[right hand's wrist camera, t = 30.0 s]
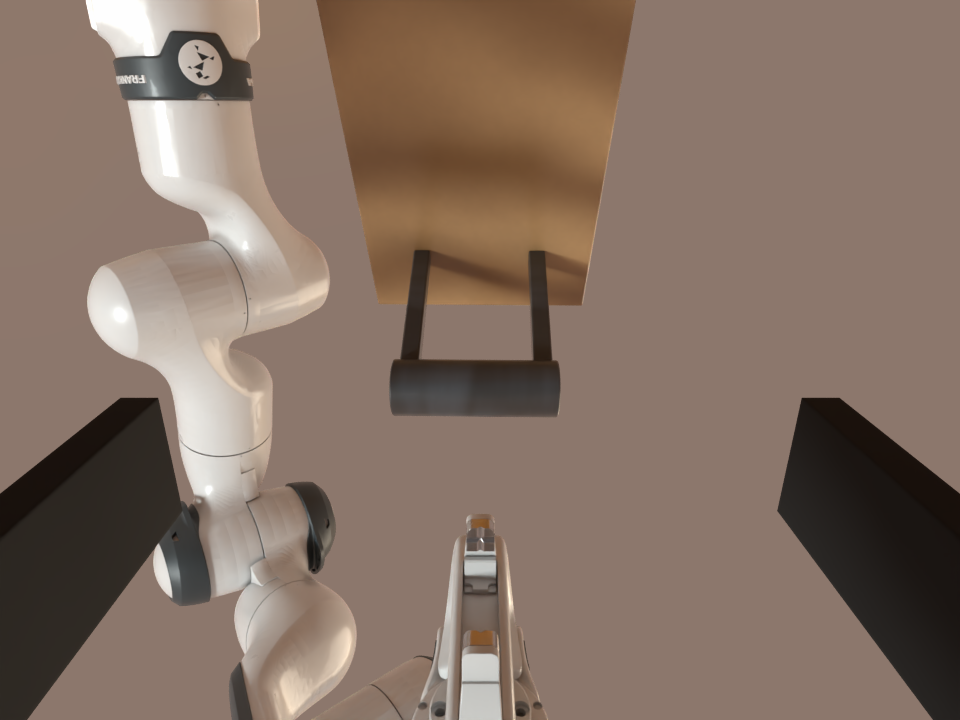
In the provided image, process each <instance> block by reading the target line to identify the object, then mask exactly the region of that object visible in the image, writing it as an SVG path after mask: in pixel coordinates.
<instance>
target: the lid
mask: <svg viewBox="0 0 960 720" xmlns="http://www.w3.org/2000/svg"><path fill="white" fill-rule="evenodd" d="M316 1H317V6H318V11H319V16H320V20H321V25H322V30H323V35H324V40H325V45H326V49H327V54H328V59H329V64H330V69H331V74H332V79H333V83H334V88H335V93H336V98H337V103H338V108H339V113H340V118H341V123H342V127H343V132H344V137H345V142H346V147H347V152H348V157H349V162H350V166H351V171H352V176H353V181H354V186H355V191H356V196H357V201H358V205H359V210H360V215H361V220H362V225H363V230H364V235H365V239H366V244H367V249H368V254H369V259H370V264H371V269H372V274H373V278H374V283H375V288H376V293H377V298H378V303H379V304H407V309H406V317H405V325H404V333H403V341H402V349H401V357H400V359H395V360H393V363H392V366H391V371H390V385H389V396H390V407H391V411H392V414H393V415H394V416H479V417H557V416H558V414H559V408H560V369H559V363H558V361H556V360H552V349H551V333H550V318H549V305H582V304H583V298H584V293H585V287H586V281H587V276H588V270H589V264H590V258H591V253H592V247H593V241H594V236H595V230H596V224H597V219H598V213H599V207H600V202H601V196H602V190H603V184H604V179H605V173H606V167H607V161H608V156H609V150H610V144H611V139H612V133H613V127H614V122H615V116H616V110H617V104H618V99H619V93H620V87H621V82H622V76H623V70H624V65H625V59H626V53H627V48H628V42H629V36H630V30H631V25H632V19H633V13H634V8H635V2H636V0H316ZM427 304H440V305H442V304H443V305H444V304H445V305H530V323H531V348H532V360H440V359H421V356H422V346H423V336H424V326H425V316H426V306H427Z"/></svg>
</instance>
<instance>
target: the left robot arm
mask: <svg viewBox="0 0 960 720" xmlns="http://www.w3.org/2000/svg"><path fill="white" fill-rule="evenodd" d="M86 3H87V8H88V13H89V17H90V22H91V26H92V28H93V29H94V30H96V31H98V34H99V35H100V36H101V37H102V38H104V39H105V40H106V41H107V42H108V43H109V44H110V46H111V48H112V50H113V52H114V54H115V56H116V59H115V60H114V61H113V63H114V67H115V71H116V75H117V77H116V80H117V84H118V85H119V87H120V91H121V94H122V98H123V99H125V100H142V101H128V105H129V110H130V115H131V120H132V125H133V131H134V136H135V141H136V146H137V151H138V156H139V161H140V166H141V171H142V174H143V176H144V178H145V180H146V181H147V183H148V184H149V186H150V187H151V188H152V189H153V190H154V191H155V192H156V193H157V194H159V195H160V196H162V197H163V198H165V199H167V200H169V201H171V202H173V203H176V204H178V205H180V206H183V207H186V208H188V209H191V210H194V211H197V212H199V213H200V215H201V216H202V218H203V219H204V221H205V223H206V226H207V229H208V232H209V240H207V241H205V242H197V243H191V244H185V245H177V246H171V247H164V248H157V249H151V250H146V251H142V252H140V253H137V254H134V255H131V256H128V257H125V258H122V259H119V260H117V261H114V262H112V263H109V264H106V265H104V266H101V267H100V268H99V269H98V271H97V272H96V274H95V275H94V277H93V279H92V281H91V284H90V287H89V291H88V298H87V306H88V312H89V316H90V320H91V322H92V324H93V326H94V328H95V330H96V332H97V333H98V334H99V336H100V337H101V338H102V340H103V341H104V342H105V343H106V344H107V345H109V346H110V347H111V348H112V349H114V350H115V351H117V352H118V353H120V354H122V355H124V356H126V357H128V358H132V359H135V360H139V361H142V362H144V363H147V364H149V365H151V366H152V367H154V368H155V369H157V370H158V371H159V372H160V373H161V374H162V375H163V376H164V377H165V378H166V380H167V381H168V383H169V385H170V387H171V390H172V394H173V399H174V404H175V410H176V418H177V426H178V437H179V445H180V451H181V456H182V460H183V464H184V467H185V470H186V473H187V476H188V479H189V482H190V484H191V487H192V490H193V493H194V501H193V504H191V505H190V506H189V507H187V505H186V504H185V502H183V501H181V506H182V510H183V511H182V512H181V514H180V515H179V516H178V518H177V519H176V520H175V522H174V523H173V524H172V526H171V527H170V528H169V530H168V531H167V532H166V534H165V535H164V537H163V538H162V539H161V541H160V542H159V543H158V545H157V546H156V548H155V552H154V561H153V564H154V572H155V576H156V579H157V581H158V583H159V585H160V586H161V588H162V589H163V590H164V592H165V593H166V594H167V595H168V596H169V598H170V599H171V601H172V602H174V603H176V604H178V605H179V606H188V605H195V604H200V603H205V602H209V600H210V598H212V597H217V596H221V595H225V594H228V593H232V592H235V591H238V590H241V589H244V588H245V590H244V591H243V592H242V594H241V595H240V597H239V599H238V602H237V605H236V609H235V616H234V620H235V628H236V633H237V636H238V640H239V643H240V645H241V648H242V650H243V652H244V654H245V656H244V658H243V659H242V661H241V662H239V664H238V665H237V666H236V668H235V669H234V671H233V672H232V673H231V677H230V683H229V698H230V708H231V716H232V720H295V719H296V718H297V717H298V716H299V715H301V714H302V713H303V712H304V711H306V710H307V709H308V708H309V707H311V706H312V705H313V704H315V703H316V702H317V701H319V700H320V699H321V698H323V697H324V696H325V695H327V694H328V693H329V692H330V691H332V690H333V689H334V688H335V687H336V686H337V685H338V684H339V682H340V681H341V680H342V678H343V677H344V675H345V674H346V672H347V670H348V668H349V666H350V664H351V662H352V659H353V656H354V652H355V647H356V636H357V635H356V625H355V620H354V617H353V615H352V613H351V611H350V609H349V607H348V606H347V604H346V603H345V602H344V600H343V599H342V598H341V597H340V596H339V595H338V594H336V593H335V592H334V591H333V590H331V589H330V588H328V587H326V586H325V585H323V584H321V583H320V582H318V581H316V580H314V579H313V578H312V577H311V575H310V573H309V570H310V571H311V572H312V573H313V574H317V573H318V572H319V571H320V570H321V569H322V568H323V565H324V558H325V557H326V555H327V554H328V553H329V551H330V549H331V546H332V544H333V541H334V537H335V532H336V524H335V517H334V512H333V508H332V506H331V504H330V501H329V499H328V497H327V495H326V494H325V492H324V491H323V490H322V489H321V488H320V487H319V486H317V485H316V484H314V483H313V482H295V483H288V484H286V486H285V487H280V488H274V489H269V490H265V491H260V492H259V491H258V488H259V486H260V485H261V483H262V481H263V479H264V475H265V472H266V469H267V464H268V460H269V454H270V448H271V439H272V389H273V388H272V387H273V382H272V379H271V376H270V374H269V372H268V370H267V368H266V367H265V366H264V364H263V363H262V362H261V361H259V360H258V359H257V358H255V357H253V356H251V355H249V354H247V353H244V352H242V351H239V350H235V349H231V348H229V346H230V344H231V342H232V341H233V340H235V339H238V338H239V337H242V336H245V335H249V334H253V333H257V332H260V331H264V330H268V329H272V328H275V327H279V326H283V325H287V324H290V323H292V322H294V321H296V320H298V319H300V318H302V317H304V316H306V315H307V314H309V313H311V312H313V311H315V310H316V309H318V308H320V307H321V306H322V305H323V303H324V302H325V300H326V297H327V294H328V291H329V285H330V275H329V269H328V265H327V262H326V260H325V258H324V256H323V254H322V252H321V251H320V249H319V248H318V247H317V246H316V244H315V243H314V242H312V241H311V240H310V239H309V238H308V237H306V236H305V235H303V234H301V233H300V232H298V231H297V230H296V229H294V228H293V227H292V226H291V225H290V224H289V223H288V222H287V221H286V220H285V218H284V217H283V216H282V215H281V213H280V212H279V210H278V209H277V207H276V206H275V204H274V202H273V200H272V198H271V196H270V194H269V192H268V190H267V187H266V185H265V182H264V179H263V176H262V172H261V168H260V163H259V158H258V153H257V147H256V141H255V135H254V129H253V123H252V116H251V109H250V102H249V101H251V100H252V99H253V79H252V77H251V69H250V64H249V63H248V62H246V57H247V54H248V51H249V49H250V48H251V47H252V45H253V44H255V43H256V41H257V40H258V39H259V37H260V24H259V7H258V0H86ZM312 720H548V718H547V715H546V712H545V710H544V708H543V706H542V704H541V703H540V700H539V696H538V693H537V690H536V687H535V685H534V682H533V679H532V677H531V674H530V669H529V664H528V660H527V655H526V648H525V641H524V640H523V633H522V629H521V628H520V627H519V626H516V622H515V615H514V607H513V599H512V589H511V580H510V571H509V562H508V555H507V549H506V544H505V541H504V539H503V538H502V537H501V536H498V535H495V529H494V517H493V516H492V515H489V514H471V515H469V516H468V517H467V519H466V535H463V536H460V537H458V538H457V540H456V542H455V546H454V551H453V558H452V565H451V574H450V583H449V592H448V601H447V609H446V617H445V623H444V626H441V627H440V628H439V629H438V634H437V640H436V643H435V650H434V656H433V657H428V656H416V657H414V658H413V659H412V660H409V661H407V662H405V663H403V664H402V665H400V666H398V667H397V668H395V669H393V670H392V671H390V672H388V673H387V674H385V675H383V676H382V677H380V678H378V679H377V680H375V681H373V682H372V683H370V684H369V685H367V686H366V687H365V688H363V689H361V690H360V691H358V692H356V693H355V694H353V695H351V696H350V697H348V698H346V699H345V700H343V701H342V702H340V703H338V704H337V705H335V706H333V707H332V708H330V709H328V710H327V711H325V712H324V713H322V714H320V715H318V716H317V717H315V718H314V719H312Z"/></svg>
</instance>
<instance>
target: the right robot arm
mask: <svg viewBox="0 0 960 720" xmlns="http://www.w3.org/2000/svg"><path fill="white" fill-rule="evenodd" d="M182 511H183V510H182V506H181V501H180V497H179V492H178V487H177V483H176V478H175V473H174V469H173V464H172V460H171V455H170V450H169V446H168V441H167V437H166V432H165V427H164V423H163V418H162V413H161V409H160V404H159V400H158V398H120V399H119V400H117V401H116V402H115V403H114V404H112V405H111V406H110V407H108V408H107V409H106V410H105V411H103V412H102V413H101V414H100V415H98V416H97V417H96V418H95V419H93V420H92V421H91V422H90V423H88V424H87V425H86V426H85V427H83V428H82V429H81V430H80V431H78V432H77V433H76V434H75V435H73V436H72V437H71V438H70V439H68V440H67V441H66V442H65V443H63V444H62V445H61V446H60V447H58V448H57V449H56V450H55V451H53V452H52V453H51V454H50V455H48V456H47V457H46V458H44V459H43V460H42V461H41V462H39V463H38V464H37V465H36V466H34V467H33V468H32V469H31V470H29V471H28V472H27V473H26V474H24V475H23V476H22V477H21V478H19V479H18V480H17V481H16V482H14V483H13V484H12V485H11V486H9V487H8V488H7V489H6V490H4V491H3V492H2V493H1V494H0V720H27V719H28V718H29V716H30V715H31V714H32V712H33V711H34V710H35V708H36V707H37V706H38V704H39V703H40V702H41V700H42V699H43V698H44V696H45V695H46V694H47V692H48V691H49V690H50V688H51V687H52V686H53V684H54V683H55V681H56V680H57V679H58V677H59V676H60V675H61V673H62V672H63V671H64V669H65V668H66V667H67V665H68V664H69V663H70V661H71V660H72V659H73V657H74V656H75V655H76V653H77V652H78V651H79V649H80V648H81V647H82V645H83V644H84V642H85V641H86V640H87V639H88V637H89V636H90V635H91V633H92V632H93V630H94V629H95V628H96V626H97V625H98V624H99V622H100V621H101V620H102V618H103V617H104V616H105V614H106V613H107V612H108V610H109V609H110V608H111V606H112V605H113V604H114V602H115V601H116V600H117V598H118V597H119V596H120V594H121V593H122V592H123V590H124V589H125V588H126V586H127V585H128V583H129V582H130V581H131V579H132V578H133V577H134V575H135V574H136V573H137V571H138V570H139V569H140V567H141V566H142V565H143V563H144V562H145V561H146V559H147V558H148V557H149V555H150V554H151V553H152V551H153V550H154V549H155V547H156V546H157V545H158V543H159V542H160V541H161V539H162V538H163V537H164V535H165V534H166V532H167V531H168V530H169V528H170V527H171V526H172V524H173V523H174V522H175V520H176V519H177V518H178V516H179V515H180V514H181V512H182ZM777 511H778V512H779V514H780V515H781V516H782V518H783V519H784V520H785V522H786V523H787V524H788V526H789V527H790V528H791V530H792V531H793V532H794V534H795V535H796V536H797V538H798V539H799V541H800V542H801V543H802V545H803V546H804V547H805V549H806V550H807V551H808V553H809V554H810V555H811V557H812V558H813V559H814V561H815V562H816V563H817V565H818V566H819V567H820V569H821V570H822V571H823V573H824V574H825V575H826V577H827V578H828V579H829V581H830V582H831V583H832V585H833V586H834V588H835V589H836V590H837V592H838V593H839V594H840V596H841V597H842V598H843V600H844V601H845V602H846V604H847V605H848V606H849V608H850V609H851V610H852V612H853V613H854V614H855V616H856V617H857V618H858V620H859V621H860V622H861V624H862V625H863V626H864V628H865V629H866V630H867V632H868V633H869V634H870V636H871V637H872V639H873V640H874V641H875V643H876V644H877V645H878V647H879V648H880V649H881V651H882V652H883V653H884V655H885V656H886V657H887V659H888V660H889V661H890V663H891V664H892V665H893V667H894V668H895V669H896V671H897V672H898V673H899V675H900V676H901V677H902V679H903V680H904V681H905V683H906V684H907V686H908V687H909V688H910V690H911V691H912V692H913V694H914V695H915V696H916V698H917V699H918V700H919V702H920V703H921V704H922V706H923V707H924V708H925V710H926V711H927V712H928V714H929V715H930V716H931V718H932V719H933V720H960V494H959V493H958V492H957V491H956V490H954V489H953V488H952V487H951V486H949V485H948V484H947V483H946V482H944V481H943V480H942V479H941V478H939V477H938V476H937V475H936V474H934V473H933V472H932V471H931V470H929V469H928V468H927V467H926V466H924V465H923V464H922V463H920V462H919V461H918V460H917V459H916V458H914V457H913V456H912V455H911V454H909V453H908V452H907V451H905V450H904V449H903V448H902V447H900V446H899V445H898V444H897V443H895V442H894V441H893V440H892V439H890V438H889V437H888V436H887V435H885V434H884V433H883V432H882V431H880V430H879V429H878V428H877V427H875V426H874V425H873V424H872V423H870V422H869V421H868V420H867V419H865V418H864V417H863V416H862V415H860V414H859V413H858V412H857V411H855V410H854V409H853V408H852V407H850V406H849V405H848V404H846V403H845V402H844V401H843V400H841V399H840V398H802V400H801V404H800V409H799V413H798V418H797V423H796V427H795V432H794V436H793V441H792V446H791V450H790V455H789V460H788V464H787V469H786V473H785V478H784V483H783V487H782V492H781V497H780V501H779V506H778V510H777Z"/></svg>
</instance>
